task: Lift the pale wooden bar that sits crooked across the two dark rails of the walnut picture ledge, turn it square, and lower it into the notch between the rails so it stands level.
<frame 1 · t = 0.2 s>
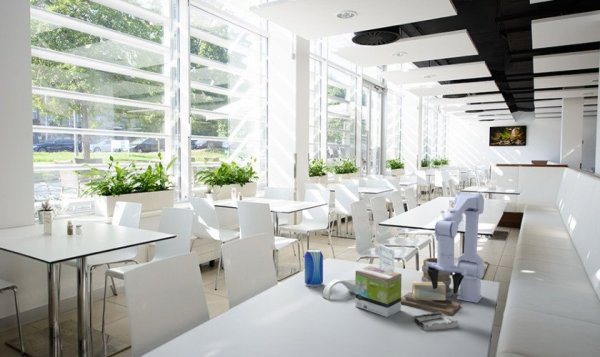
hand: (445, 290, 147), 10 cm above the table, tool pointing down, fingers open, 7 cm apart
white curved piece: (348, 294, 174), on the table
tea box: (377, 309, 157), on the table
beer can: (313, 285, 187), on the table
pale wooden bar: (428, 298, 161), point 3 cm above the table, touching walnut ledge
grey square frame: (433, 325, 142), on the table
tankard: (438, 290, 179), on the table
walnut ledge: (428, 304, 161), on the table
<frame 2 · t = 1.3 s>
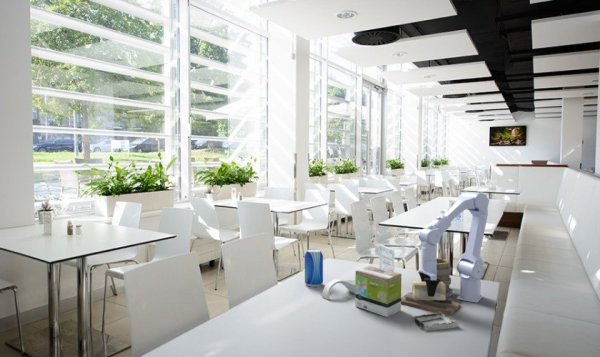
hand: (428, 292, 161), 5 cm above the table, tool pointing down, fingers open, 7 cm apart
nothing on the table moved.
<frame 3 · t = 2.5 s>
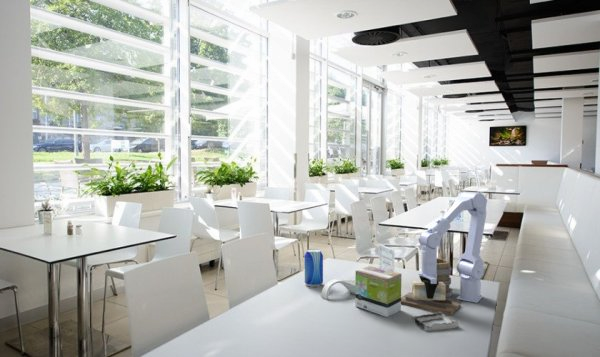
hand: (428, 296, 161), 3 cm above the table, tool pointing down, fingers closed on pale wooden bar, 4 cm apart
pale wooden bar: (428, 298, 161), point 3 cm above the table, touching gripper, walnut ledge
everything else where it was.
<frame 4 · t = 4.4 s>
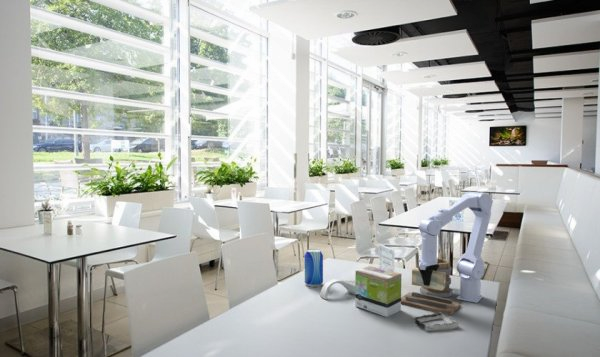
hand: (428, 283, 160), 8 cm above the table, tool pointing down, fingers closed on pale wooden bar, 4 cm apart
pale wooden bar: (428, 286, 161), point 7 cm above the table, touching gripper
everything else where it was.
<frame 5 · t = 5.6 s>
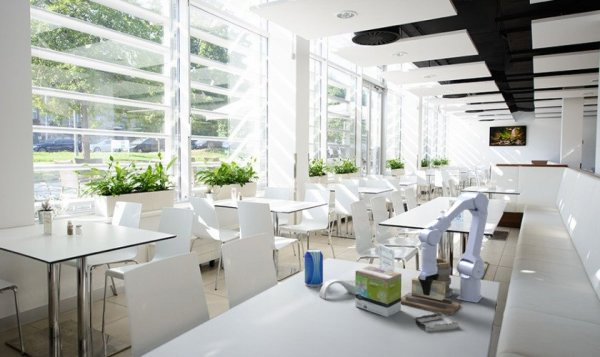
hand: (428, 293, 161), 5 cm above the table, tool pointing down, fingers closed on pale wooden bar, 4 cm apart
pale wooden bar: (428, 295, 161), point 4 cm above the table, touching gripper
everything else where it was.
when the fingers open (3 cm above the table, at t = 6.4 s): pale wooden bar stays where it is, resting on walnut ledge.
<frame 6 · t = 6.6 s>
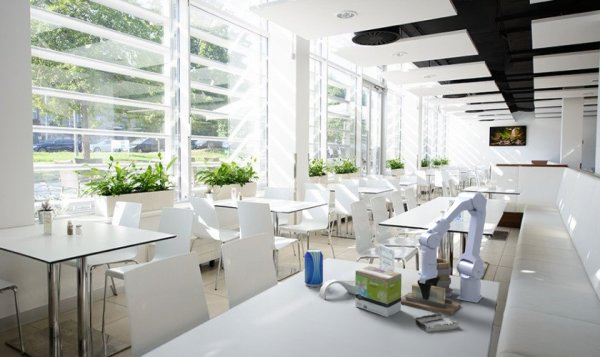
hand: (428, 296, 161), 3 cm above the table, tool pointing down, fingers open, 6 cm apart
pale wooden bar: (428, 301, 161), point 1 cm above the table, touching walnut ledge
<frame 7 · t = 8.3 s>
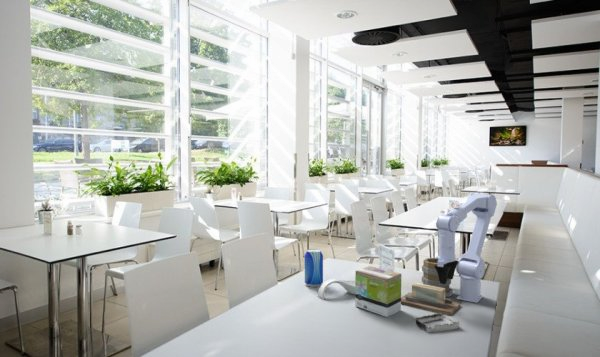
hand: (446, 281, 158), 10 cm above the table, tool pointing down, fingers open, 7 cm apart
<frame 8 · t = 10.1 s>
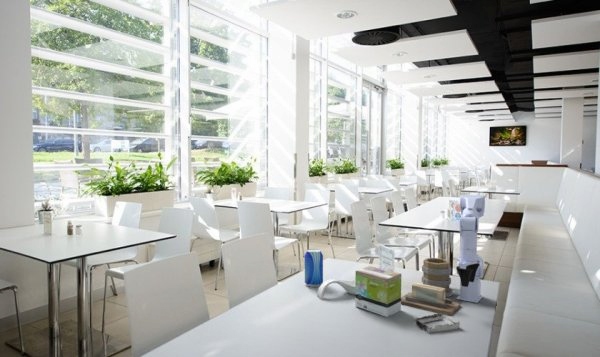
hand: (467, 283, 154), 10 cm above the table, tool pointing down, fingers open, 7 cm apart
at the end: pale wooden bar inside the target area on the walnut ledge (0.1 cm from its centre), point 1.2 cm above the walnut ledge's base; pale wooden bar tilted 0°; the gripper is holding nothing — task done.
